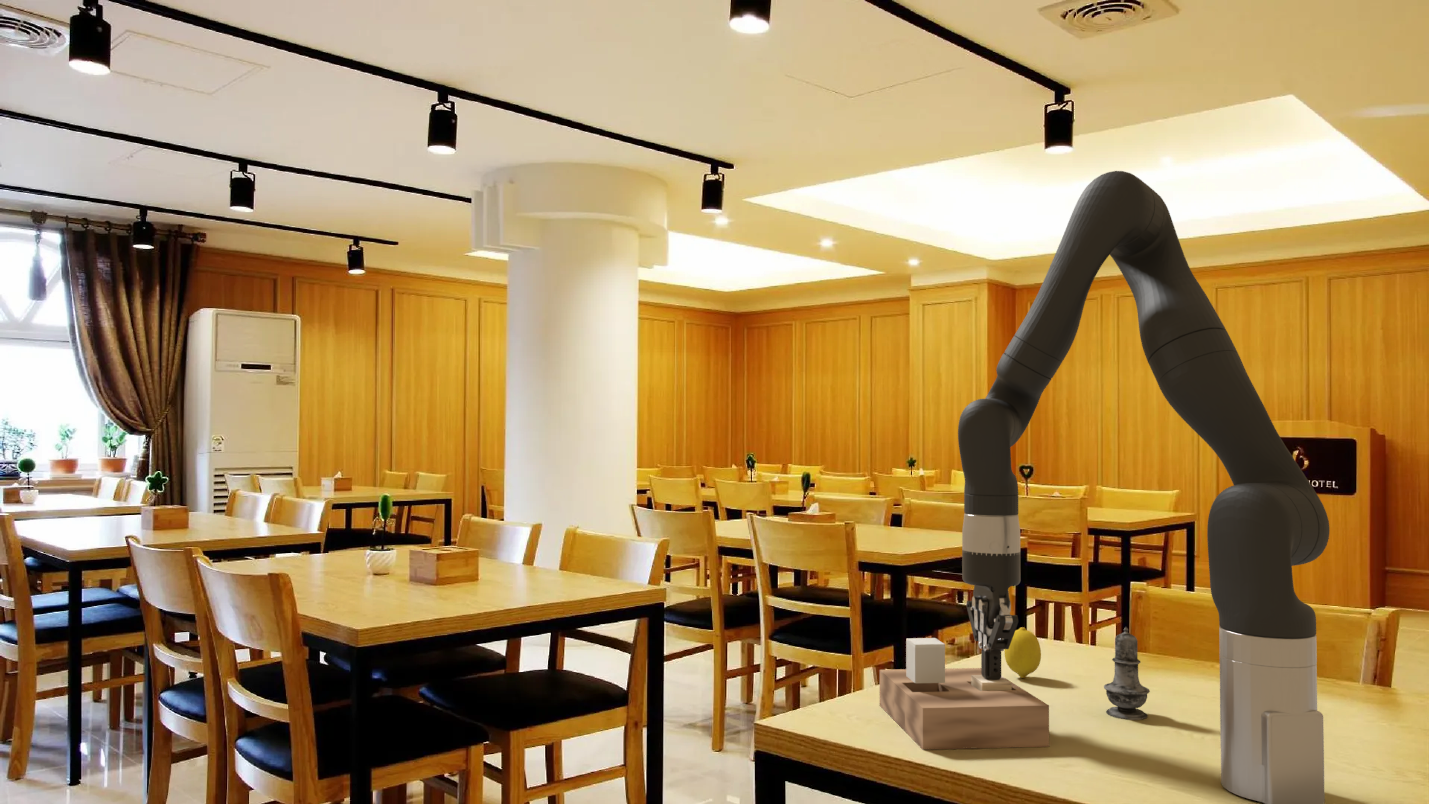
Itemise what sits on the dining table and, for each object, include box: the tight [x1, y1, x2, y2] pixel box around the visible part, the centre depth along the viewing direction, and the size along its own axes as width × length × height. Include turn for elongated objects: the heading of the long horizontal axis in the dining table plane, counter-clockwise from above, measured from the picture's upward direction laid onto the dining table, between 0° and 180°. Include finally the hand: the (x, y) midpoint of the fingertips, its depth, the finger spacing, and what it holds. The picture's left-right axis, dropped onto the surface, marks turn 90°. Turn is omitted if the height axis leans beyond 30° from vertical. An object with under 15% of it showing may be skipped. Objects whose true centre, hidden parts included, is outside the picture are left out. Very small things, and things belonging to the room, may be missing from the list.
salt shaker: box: [1103, 626, 1151, 721], centre depth 137 cm, size 6×6×12 cm
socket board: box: [879, 667, 1050, 750], centre depth 132 cm, size 20×16×5 cm
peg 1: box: [905, 637, 946, 683], centre depth 131 cm, size 4×4×5 cm
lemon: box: [1004, 626, 1042, 679], centre depth 157 cm, size 6×6×8 cm
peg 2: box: [971, 675, 1013, 691], centre depth 132 cm, size 4×4×5 cm
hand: (991, 678), depth 132 cm, fingers closed
